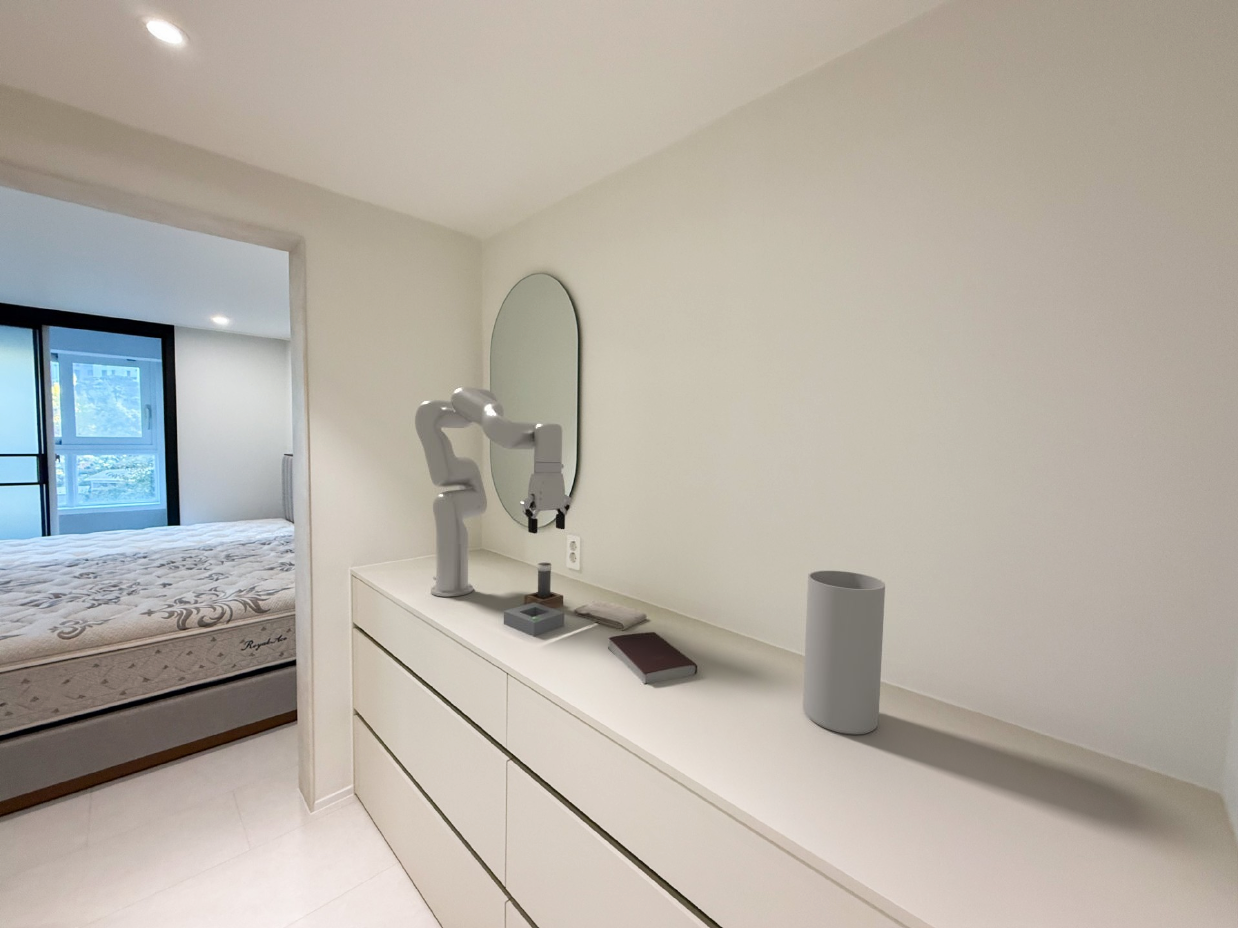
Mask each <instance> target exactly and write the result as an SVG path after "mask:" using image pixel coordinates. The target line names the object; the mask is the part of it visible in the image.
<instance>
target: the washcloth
mask: <svg viewBox="0 0 1238 928" xmlns="http://www.w3.org/2000/svg"><path fill="white" fill-rule="evenodd" d="M572 615H576V616H578V617H583V618H586V619H589V620H591V621H596V622H595V624H596V625H600V626H603V627H607V628H610V629H614V630H616V631H625V630H627V629H629V628H631V627H632V626H634V625H637V624H639V623H642V622H643V621H646V619H647V613H646V612H644V611H642V610H638V609H634V608H631V607H628V606H625V605H620V604H616V603H612V602H608V601H606V600H602V599H601V600H600V599H597V600H594V601H592V602H591V603H589V604H584V605H581V606H580V607H577V608H574V609H573V613H572Z"/></svg>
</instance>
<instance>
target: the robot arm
mask: <svg viewBox="0 0 1238 928" xmlns="http://www.w3.org/2000/svg"><path fill="white" fill-rule="evenodd" d="M504 413H505V411H504V407H503V405H502V404H501V403H500V402H498V399H497V397H496V395H495V394H494V392H492V391H490V390H488V389H485V388H479V387H477V388H476V387H470V386H469V387H468V386H463V387H459V388H457V389H455V390H454V391H453V392H452V394H451V396H450V400H443V399H442V400H441V399H431V400H427V401H423V402H422V403H421V404H420V405H419V406H418V407H417V409H416V412H415V416H414V425H415V429H416V433H417V436H418V438H419V441H420V443H421V446H422V448H423V451H424V456H425V460H426V464H427V467H428V472H429V475H430V479H431V481H432V483H433V485H434V486H435V487H437V488H455V487H458V488H459V489H453V490H451V489H450V490H447V491H442V492H441V493H439V494H438V495H436V497H435V498H434V500H433V503H432V512H433V517H434V521H435V528H436V529H435V530H436V531H435V537H436V538H435V539H436V541H435V542H436V544H435V545H436V546H435V548H436V549H435V551H436V555H435V556H436V557H435V558H436V559H435V560H436V561H435V563H436V564H435V566H436V567H435V569H436V570H435V575H434V576H433V577H432V578H433V580H434V581H435V585H433V586H431V588H430V594H432V595H433V596H438V597H443V598H444V597H446V598H448V597H458V596H465V595H467V594H469V593H471V592H473V590H474V585H472V583H469V532H468V529H467V527H466V526H465V523H464V520H468V519H474V518H475V519H476V518H479V517H481V516H483V515H484V513H485V512H486V511H487V508H488V499H487V498H488V497H487V495H486V491H485V486H484V482H483V478H482V475H481V471H480V468H479V466H478V465H477V463H476V462H475V461H474V460H473V459H472V458H470V457H467V456H456V455H455V452H454V448H453V444H452V442H451V440H450V439H449V437H448V435H447V434H446V433H445V432H444V431H443V430H442V428H444V429H447V428H448V429H465V428H468V427H470V426H473V425H474V424H477V425H478V426H480V427H481V428H482V431H483V433H484V434H485V437H487V438H488V439H489V440H491V441H492V442H494V443H495V444H497V445H499V446H500V447H503V448H505V449H508V450H533V451H534V452H533V454H534V455H533V473H531V474H530V478H529V483H528V490H527V497H526V498H524V500H522V501H520V505H519V506H520V507H521V509H522V513H523V514H524V515H525V517H526V518H527V529H528V530H527V531H528V533H531V534H535V535H536V534H538V527H539V526H538V522H539V519H538V518H537V516H538V515H539V513H540V512H544V511H554V510H555V511H556V514H555V528H556V529H558V530H559V529H560V530H565V528H566V515H567V514H568V511H569V509H570V507H571V504H572V501H573V498H572V497H570V496H569V495H567V494H566V488H565V480H564V478H565V477H564V473H562V470H563V469H564V468H565V467H564V464H562V463H563V461H562V460H563V428H562V426H561V425H560V424H558V423H548V422H547V423H542V422H541V423H535V422H524V421H523V422H521V421H512V420H509V419H507V418H506V417H504V415H505V414H504Z"/></svg>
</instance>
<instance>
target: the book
mask: <svg viewBox="0 0 1238 928" xmlns="http://www.w3.org/2000/svg"><path fill="white" fill-rule="evenodd" d="M608 640H609V646H608V647H607V648H608V650H609V652H611V653H612V655H614V656H615V657H616V658H617V659H618V660H619V661H620V662H622V663H623V664H624V665H625V666H626V667H627V668H628V669H629V670H630V671H631V672H632V673H633V674H634V675H635V676H636V677H637V679H639V681H641V682H642V684H643V685H647V684H652V683H657V682H663V681H668V680H673V679H677V678H683V677H682V676H684V677H688V676H687V675H689V676H693V675H692V674H696V675H697V672H698V665H697V663H696V662H695V661H693V660H692V659H690V658H689V657H687V656H686V655H685V654H683V653H682V652H681V651H680V650H678V649H677V648H676V647H675V646H673V645H671V643H669V642H668V641H667V640H666V639H665V638H663V637H661V636H660V635H659V634H657V633H656V632H655V631H650V632H649V631H648V632H639V633H630V634H629V633H628V634H620V635H615V636H610V637H608Z"/></svg>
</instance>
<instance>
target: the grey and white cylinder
mask: <svg viewBox="0 0 1238 928" xmlns="http://www.w3.org/2000/svg"><path fill="white" fill-rule="evenodd" d="M551 578H552V563H551V562H547V561H546V562H539V563H537V592H538V598H540V599H547V598H550V591H551V587H552V586H551V585H552V584H551V581H552V579H551Z"/></svg>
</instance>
